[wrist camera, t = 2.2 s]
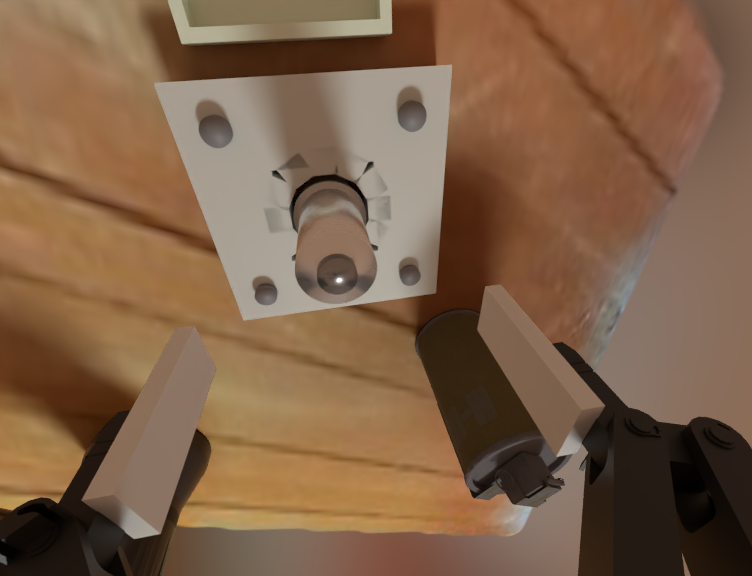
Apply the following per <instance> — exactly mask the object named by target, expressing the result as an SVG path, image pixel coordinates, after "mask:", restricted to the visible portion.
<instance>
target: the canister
mask: <svg viewBox="0 0 752 576" xmlns="http://www.w3.org/2000/svg"><path fill="white" fill-rule="evenodd" d="M479 317H480V314H479V313H477V312H475V311H472V310H467V309H456V310H452V311H449V312H445V313H442V314H440V315H439V316H437V317H435V318H433V319H432V320H431V321H430V322H429V323H427V324H426V325H425V327H424V328H423V329H422V330H421V331H420V333H419V335H418V337H417V340H416V351H417V354H418V356H419V358H420V359H421V360H422V363H423V366H424V368H425V371H426V374H427V376H428V379H429V382H430V384H431V387H432V389H433V392H434V395H435V397H436V400H437V404H438V407H439V410H440V412H441V415H442V418H443V420H444V423H445V426H446V428H447V431H448V434H449V436H450V439H451V442H452V444H453V447H454V450H455V452H456V455H457V457H458V460H459V463H460V465H461V468H462V471H463V473H464V479H465V483H466V485H467V487H468V488H469V489H470V492H471V495H472V497H473V498H477V499H485V500H490V499H491V498H493V497H494V496H496V495H497V494H505V493H506V494H507V496H508V498H509V499H510V501H511V503H512V504H515V505H523V506H530V507H538V506H540V505H541V504H543V503H544V502H546V499H547V498H549V497H550V496H552V495H554V494H555V493H557V492H558V491H560V490H561V487H560V486H564V485H565V484H564V481H563V479H562V480H560V479H561V478H558V479H554V477H553V476H552V474H554V473H556V472H557V471H559V470H560V469H561V468H562V467H563V466H564V465H565V464H566V463H567V462H568V461H569V459H570V458H571V456H572V454H569V455H563V456H558V457H556V456H555V454H554V453H553V451H552V449H551V448H550V446H549V445H548V443H547V441H546V440H545V438H544V437H543V435H542V433H541V432H540V430H539V429H538V427H537V425H536V424H535V422H534V420H533V419H532V417H531V416H530V414H529V412H528V411H527V409H526V408H525V406H524V404H523V403H522V401H521V400H520V398H519V396H518V395H517V393H516V391H515V390H514V388H513V387H512V385H511V383H510V382H509V380H508V379H507V377H506V375H505V374H504V372H503V371H502V369H501V367H500V366H499V364H498V362H497V361H496V359H495V358H494V356H493V354H492V353H491V351H490V350H489V348H488V346H487V345H486V343H485V341H484V340H483V338H482V337H481V335H480V333H479V332H478V330H477V328H478V323H479Z"/></svg>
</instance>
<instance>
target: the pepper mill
mask: <svg viewBox="0 0 752 576" xmlns="http://www.w3.org/2000/svg"><path fill="white" fill-rule="evenodd" d="M293 219H294V224H295V228H296V230H297V232H298V238H297V249H296V260H295V276H296V280H297V282H298V284H299V286H300V287H301V289H302V290H303V291H304V292H305V293H306V294H307V295H308V296H310V297H311V298H313V299H315V300H317V301H320V302H323V303H329V304H342V303H347V302H350V301H353V300H355V299H357V298H359V297H360V296H362V295H363V294H364V293H366V292H367V291H368V290H369V288H370V287H371V286H372V284H373V282H374V280H375V278H376V274H377V261H376V257H375V254H374V251H373V248H372V246H371V243H370V240H369V237H368V234H367V231H366V228H365V224H366V210H365V206H364V204H363V201H362V199H361V198H360V196H359V195H358V193H357V192H356V191H355V190H354V189H353V188H351V187H350V185H349V184H348V183H347V182H346V181H345V180H344V179H343V178H341V177H339V176H337V175H333V174H330V175H320V176H316V177H314V178H312V179H311V180H310V181H309V182H308V183H307V184H306V185H305V187H304V189H303V191H302V192H301V194H300V195H299V197H298V198H297V200H296V203H295V206H294V213H293Z"/></svg>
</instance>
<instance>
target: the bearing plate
mask: <svg viewBox="0 0 752 576" xmlns="http://www.w3.org/2000/svg"><path fill="white" fill-rule="evenodd" d="M451 76H452V65H438V66H422V67H406V68H389V69H373V70H357V71H340V72H324V73H308V74H291V75H275V76H259V77H243V78H226V79H210V80H194V81H177V82H161V83H154V86H155V89H156V91H157V94H158V97H159V99H160V102H161V104H162V107H163V110H164V112H165V115H166V118H167V120H168V123H169V125H170V128H171V131H172V133H173V136H174V139H175V141H176V144H177V146H178V149H179V152H180V154H181V157H182V160H183V162H184V165H185V167H186V170H187V173H188V175H189V178H190V181H191V183H192V186H193V188H194V191H195V194H196V196H197V199H198V202H199V204H200V207H201V210H202V212H203V215H204V217H205V220H206V223H207V225H208V228H209V231H210V233H211V236H212V238H213V241H214V244H215V246H216V249H217V252H218V254H219V257H220V259H221V262H222V265H223V267H224V270H225V273H226V275H227V278H228V280H229V283H230V286H231V288H232V291H233V294H234V296H235V299H236V301H237V304H238V307H239V309H240V312H241V315H242V317H243V320H250V319H258V318H265V317H272V316H279V315H286V314H293V313H300V312H307V311H314V310H321V309H328V308H336V307H343V306H350V305H357V304H364V303H371V302H378V301H385V300H392V299H399V298H406V297H413V296H421V295H428V294H435V293H436V286H437V272H438V258H439V244H440V230H441V216H442V202H443V188H444V174H445V160H446V146H447V132H448V118H449V104H450V90H451ZM330 174H337V175H339V176H341V177H343V178H345V179H348V180H350V181H352V182H354V183H356V185H357V186H358V187H359V189H360V190H361V192H362V193H363V204H364V206H365V210H366V224H365V228H366V231H367V234H368V237H369V240H370V243H371V246H372V248H373V251H374V254H375V257H376V261H377V274H376V278H375V280H374V282H373V284H372V286H371V287H370V288H369V290H368V291H367V292H366V293H364V294H363V295H362V296H360V297H359V298H357V299H355V300H353V301H350V302H347V303H342V304H329V303H323V302H320V301H317V300H315V299H313V298H311V297H310V296H308V295H307V294H306V293H305V292H304V291H303V290H302V289H301V287H300V286H299V284H298V282H297V280H296V276H295V260H296V249H297V238H298V232H297V230H296V228H295V224H294V219H293V213H294V206H293V202H292V199H293V196H294V193H295V191H296V189H297V188H298V187H300V186H301V185H302V184H304V183H305V182H306V181H308V180H309V179H310V178H312V177H313V176H320V175H330Z"/></svg>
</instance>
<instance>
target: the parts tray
mask: <svg viewBox="0 0 752 576" xmlns="http://www.w3.org/2000/svg"><path fill="white" fill-rule="evenodd" d="M168 3H169V6H170V9H171V12H172V16H173V19H174V22H175V25H176V28H177V31H178V34H179V38H180V41H181V44H184V45H189V46H203V45H223V44H243V43H262V42H282V41H302V40H322V39H342V38H362V37H382V36H388V35H390V34H392V0H168Z"/></svg>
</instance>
